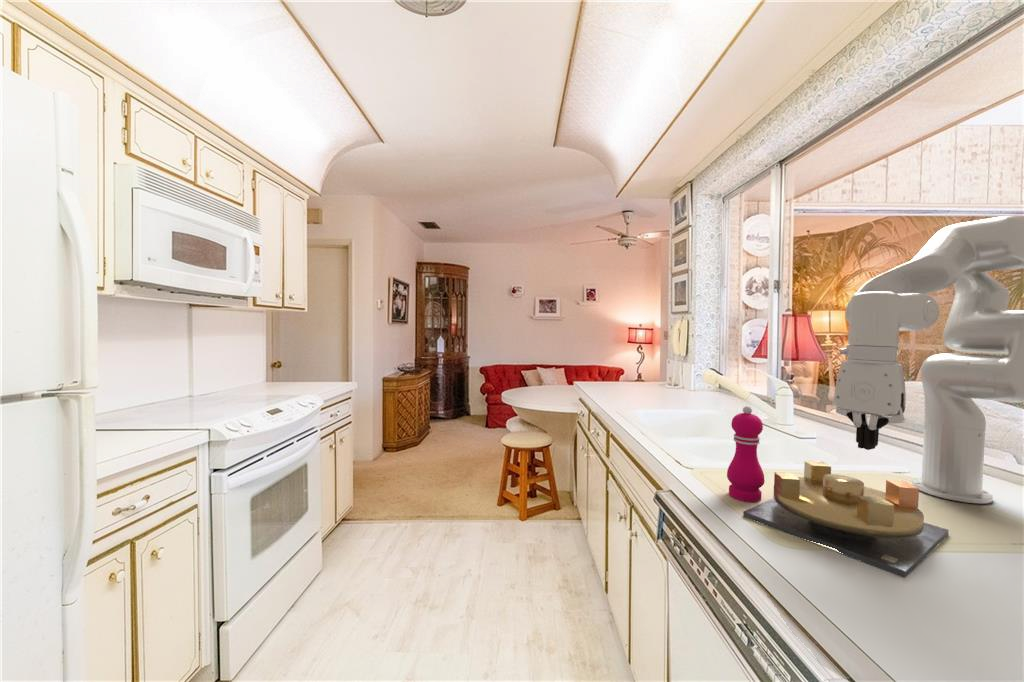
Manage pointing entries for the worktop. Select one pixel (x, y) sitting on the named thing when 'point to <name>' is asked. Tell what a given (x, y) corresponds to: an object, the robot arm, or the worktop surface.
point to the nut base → (854, 539)
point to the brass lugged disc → (850, 502)
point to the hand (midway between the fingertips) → (866, 447)
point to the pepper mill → (746, 458)
